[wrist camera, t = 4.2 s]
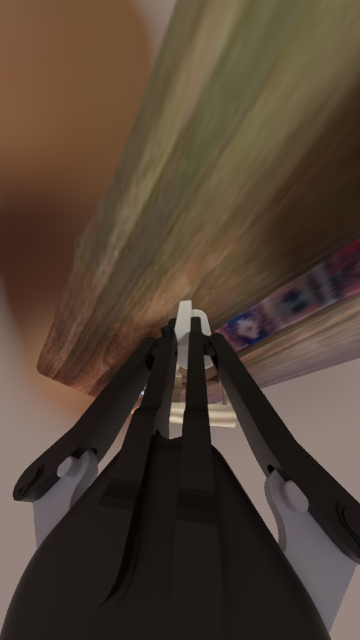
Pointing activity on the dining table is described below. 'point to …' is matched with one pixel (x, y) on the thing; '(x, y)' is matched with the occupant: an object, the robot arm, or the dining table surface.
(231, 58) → the dining table surface
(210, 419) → the shelf
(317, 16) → the dining table surface
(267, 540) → the robot arm
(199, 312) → the cup
